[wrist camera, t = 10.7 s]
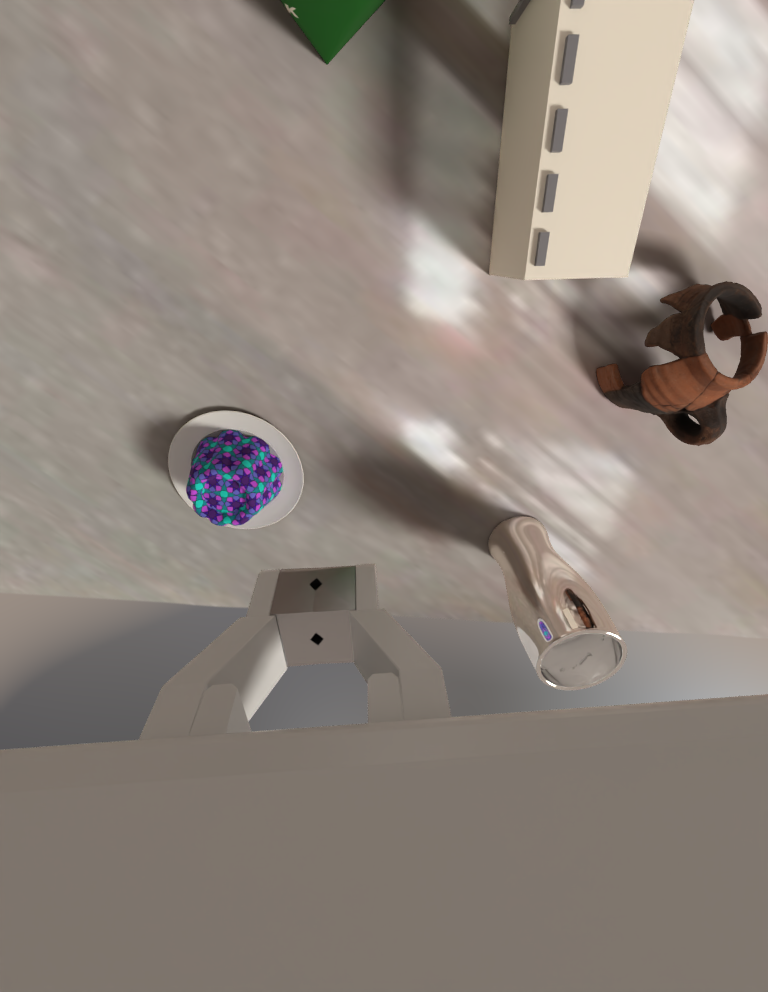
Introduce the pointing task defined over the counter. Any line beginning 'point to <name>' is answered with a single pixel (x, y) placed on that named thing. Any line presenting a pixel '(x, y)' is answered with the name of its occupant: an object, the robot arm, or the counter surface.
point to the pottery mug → (693, 363)
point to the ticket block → (581, 133)
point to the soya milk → (330, 21)
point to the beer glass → (555, 609)
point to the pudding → (235, 470)
